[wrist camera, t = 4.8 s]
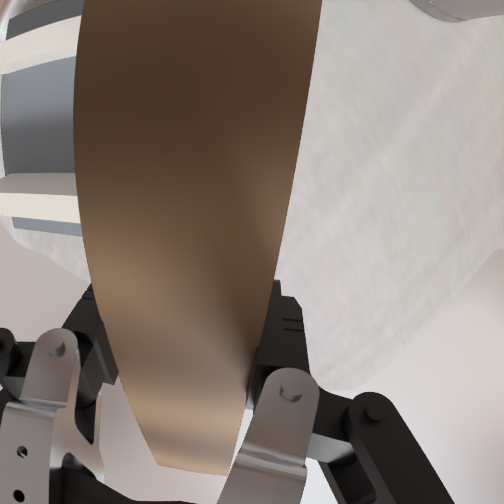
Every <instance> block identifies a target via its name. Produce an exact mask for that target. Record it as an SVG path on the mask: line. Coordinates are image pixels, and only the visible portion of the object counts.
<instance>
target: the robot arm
mask: <svg viewBox="0 0 504 504" xmlns="http://www.w3.org/2000/svg"><path fill="white" fill-rule="evenodd" d="M410 1H411V2H412V3H413V4H414V5H416V6H417V7H418V8H420V9H421V10H422V11H424V12H425V13H427V14H429V15H431V16H432V17H435V18H437V19H440V20H442V21H447V22H461V21H466V20H471V19H477V18H483V17H490V16H498V15H504V0H410ZM118 373H119V371H118V368H117V365H116V362H115V359H114V356H113V353H112V350H111V346H110V343H109V340H108V336H107V333H106V330H105V326H104V322H101V318H100V315H99V311H98V307H97V303H96V299H95V295H94V291H93V287H92V282H91V284H90V285H89V287H88V288H87V291H85V293H84V294H83V295H82V298H81V299H80V300H79V301H78V303H77V304H76V306H75V307H74V309H73V310H72V312H71V313H70V315H69V316H68V318H67V319H66V321H65V323H64V324H63V326H62V328H56V329H51V330H49V331H47V332H45V333H43V334H42V335H41V336H40V337H39V338H38V340H37V341H36V342H17V341H16V340H15V338H14V336H13V334H12V333H11V331H10V330H8V329H6V328H0V384H1V386H2V387H3V389H2V390H1V391H0V504H194V503H189V502H183V501H135V500H131V499H129V498H127V497H125V496H124V495H122V494H120V493H118V492H117V491H115V490H113V489H111V488H110V487H108V486H106V485H105V475H104V465H103V460H102V457H101V454H100V450H99V431H100V411H101V410H100V409H101V393H100V388H101V386H102V383H103V382H104V383H108V384H112V385H114V383H115V381H116V379H117V376H118ZM245 409H251V410H253V417H252V420H251V422H250V425H249V428H248V430H247V433H246V436H245V438H244V441H243V443H242V446H241V448H240V450H239V452H238V454H237V456H236V459H235V461H234V464H233V466H232V469H231V471H230V473H229V476H228V478H227V481H226V483H225V485H224V488H223V490H222V492H221V495H220V497H219V499H218V502H217V504H300V501H301V498H302V494H303V490H304V487H305V483H306V478H307V467H306V466H305V460H306V457H308V458H312V459H315V460H317V461H318V463H319V465H320V467H321V469H322V471H323V473H324V475H325V477H326V479H327V481H328V483H329V486H330V488H331V490H332V492H333V494H334V496H335V498H336V500H337V502H338V504H455V503H454V502H453V500H452V498H451V497H450V495H449V493H448V492H447V490H446V488H445V487H444V485H443V483H442V482H441V480H440V478H439V476H438V475H437V473H436V471H435V470H434V468H433V467H432V465H431V463H430V462H429V460H428V459H427V457H426V455H425V454H424V452H423V450H422V449H421V447H420V445H419V444H418V442H417V441H416V439H415V438H414V436H413V434H412V433H411V431H410V430H409V428H408V426H407V425H406V423H405V422H404V420H403V419H402V417H401V416H400V414H399V412H398V411H397V409H396V408H395V406H394V405H393V403H392V402H391V401H390V400H389V399H388V398H386V397H385V396H383V395H382V394H379V393H375V392H364V393H361V394H359V395H357V396H356V397H355V398H354V399H353V400H352V399H349V398H345V397H342V396H338V395H335V394H331V393H329V392H327V391H325V390H324V389H322V388H321V387H320V386H318V384H317V382H316V381H315V380H314V378H313V377H312V376H311V374H310V369H309V361H308V353H307V345H306V337H305V333H304V323H303V315H302V308H301V307H300V305H299V304H298V302H297V301H296V299H295V298H294V297H289V296H281V284H280V280H273V285H272V290H271V295H270V299H269V304H268V309H267V313H266V318H265V322H264V327H263V332H262V336H261V341H260V345H259V347H256V352H255V356H254V361H253V365H252V370H251V375H250V379H249V384H248V388H247V392H246V405H245Z"/></svg>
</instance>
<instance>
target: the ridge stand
mask: <svg viewBox="0 0 504 504" xmlns="http://www.w3.org/2000/svg"><path fill="white" fill-rule="evenodd" d="M83 5H84V0H56V1H53V2H51V3H48V4H45V5H42V6H40V7H37V8H35V9H32V10H30V11H27V12H25V13H23V14H20V15H18V16H16V17H14V18H11V19H9V24H8V29H7V35H6V41H4V42H2V43H0V74H2V84H1V134H2V150H3V161H4V170H5V177H3V178H1V179H0V215H1V216H11V217H12V219H13V224H14V228H19V229H27V230H35V231H43V232H51V233H59V234H66V235H74V236H82V237H83V235H82V229H81V222H80V215H79V207H78V199H77V189H76V178H75V164H74V144H73V95H74V76H75V63H76V53H77V44H78V36H79V29H80V22H81V16H82V10H83Z"/></svg>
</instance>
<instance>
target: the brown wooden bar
mask: <svg viewBox="0 0 504 504" xmlns="http://www.w3.org/2000/svg"><path fill="white" fill-rule="evenodd" d="M321 5H322V0H84V5H83V10H82V16H81V22H80V29H79V36H78V44H77V53H76V63H75V76H74V95H73V144H74V164H75V178H76V189H77V199H78V207H79V215H80V222H81V229H82V235H83V242H84V247H85V253H86V258H87V263H88V268H89V273H90V278H91V282H92V287H93V291H94V295H95V299H96V303H97V307H98V311H99V315H100V318H101V322H104V326H105V330H106V333H107V336H108V340H109V343H110V346H111V350H112V353H113V356H114V359H115V362H116V365H117V368H118V371H119V373H118V375H119V378H120V381H121V383H122V386H123V389H124V391H125V394H126V396H127V399H128V401H129V404H130V406H131V409H132V411H133V414H134V416H135V418H136V420H137V422H138V425H139V427H140V429H141V432H142V434H143V436H144V438H145V440H146V442H147V444H148V446H149V449H150V451H151V453H152V455H153V456H154V459H155V460H156V462H157V464H158V465H160V466H165V467H170V468H175V469H180V470H186V471H192V472H198V473H205V474H213V475H222V476H228V473H229V469H230V466H231V461H232V458H233V454H234V449H235V446H236V442H237V438H238V433H239V430H240V426H241V422H242V418H243V414H244V410H245V405H246V392H247V388H248V384H249V379H250V375H251V370H252V365H253V361H254V356H255V352H256V347H259V345H260V341H261V336H262V332H263V327H264V322H265V318H266V313H267V309H268V304H269V299H270V295H271V290H272V285H273V280H274V276H275V271H276V266H277V261H278V256H279V251H280V246H281V241H282V236H283V231H284V226H285V221H286V216H287V210H288V205H289V200H290V195H291V189H292V184H293V179H294V173H295V168H296V162H297V157H298V151H299V145H300V140H301V134H302V128H303V122H304V116H305V110H306V104H307V98H308V92H309V86H310V80H311V73H312V67H313V61H314V54H315V47H316V41H317V34H318V27H319V20H320V12H321Z"/></svg>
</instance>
